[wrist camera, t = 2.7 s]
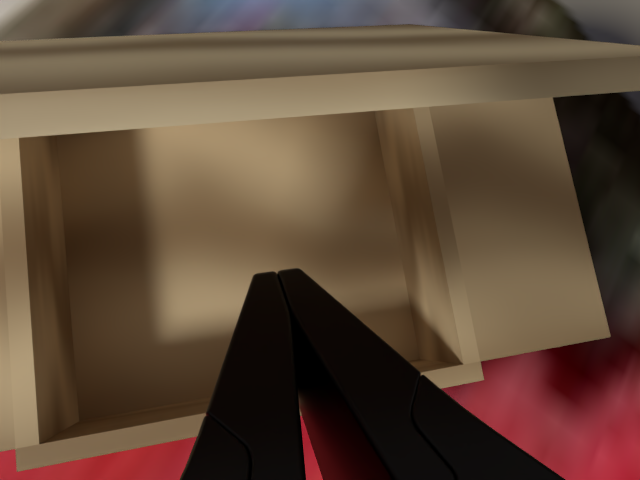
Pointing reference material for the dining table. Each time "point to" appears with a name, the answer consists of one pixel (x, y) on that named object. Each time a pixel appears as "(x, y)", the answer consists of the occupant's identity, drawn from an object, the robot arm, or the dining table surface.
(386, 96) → the flap
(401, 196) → the open box
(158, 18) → the dining table surface
